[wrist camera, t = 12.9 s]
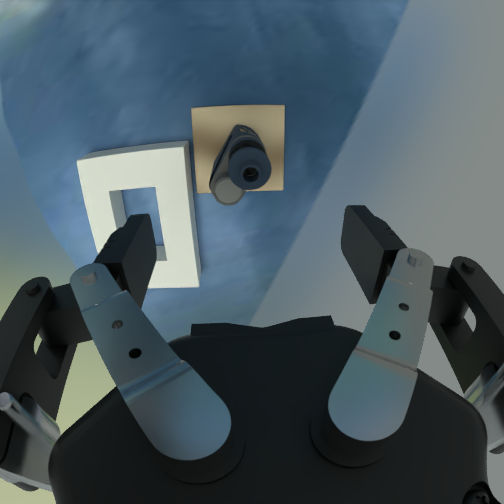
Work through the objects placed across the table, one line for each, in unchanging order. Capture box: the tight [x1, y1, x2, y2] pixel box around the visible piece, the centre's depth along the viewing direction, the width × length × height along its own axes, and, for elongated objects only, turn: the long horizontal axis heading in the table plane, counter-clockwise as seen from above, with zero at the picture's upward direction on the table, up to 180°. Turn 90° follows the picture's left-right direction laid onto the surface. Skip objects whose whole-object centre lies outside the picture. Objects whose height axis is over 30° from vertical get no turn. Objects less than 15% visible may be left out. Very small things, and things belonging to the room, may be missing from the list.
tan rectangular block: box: [191, 105, 285, 193], centre depth 26 cm, size 8×8×1 cm
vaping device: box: [209, 124, 272, 205], centre depth 21 cm, size 3×5×12 cm, turn 151°
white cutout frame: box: [77, 140, 201, 288], centre depth 28 cm, size 14×10×3 cm
